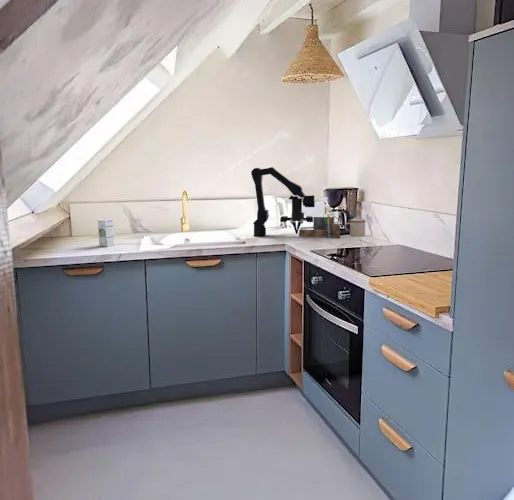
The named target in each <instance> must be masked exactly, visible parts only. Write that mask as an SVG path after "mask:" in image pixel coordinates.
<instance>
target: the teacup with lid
mask: <svg viewBox="0 0 514 500" xmlns="http://www.w3.org/2000/svg"><path fill="white" fill-rule="evenodd" d="M349 221H350V222H346V223H345V224H344V228H345V231H347V232H349V235H350V236H352V237H364V236H366V219H364V218H362V217H360V215H356V216H355V217H353V218H351V219H349ZM347 225H350V226H349V229H348V228H347Z"/></svg>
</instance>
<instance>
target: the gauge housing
mask: <svg viewBox="0 0 514 500" xmlns="http://www.w3.org/2000/svg"><path fill="white" fill-rule="evenodd" d="M327 218H329V225H330V235H331V236H332V239H340V238H341V225H340V223H334V222H335V219H334V218H335V217H334V216H314V217H313V222H312V223H313V227H312V228H313V229H312V230H327V225H328V223H327Z"/></svg>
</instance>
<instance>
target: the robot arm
mask: <svg viewBox="0 0 514 500" xmlns="http://www.w3.org/2000/svg"><path fill="white" fill-rule="evenodd" d="M250 174H251V177H252V181H253V183H254V187H255V194H256V195H255V196H256V203H257V212H256V213H257V214H256V220H255V221H254V222H252V224H253V237H265V236H266V234H267V228H266V224H265V223H266V222H267V221H268V220H269V217H270V215H269V209H266V206H265V197H264V189H263V179H264V176H267V175H271V176H272V177H273V178H274V179H276V180H277V181H279V182H280V183H281V184H282V185H284V186H285V187H286V188H287V189H288V191H289V192H290V193H291V194H292V195H290V196H289V198H288V200H291V217H288V215H282V216H281V217H280V223H286V222H287V221H289V223H290V224H291V225H292V226H293V229H294V231H295V235H296V234H299V230H300V228H301V225H302V224H304V222H307V223H313V222H314V217H313V216H311V215H309V216H308V215H307V216H306V217H305V212H303V209H302V208H303V207H304V208H315V206H316V205H315V204H316V200H315V195H313V194H312V195H306V194H305V193H304V192H303V188H302V186H301V185H299V184H298V183H295V182H293V181H291V180H290V179H289V178H287V177H286V176H285V175H283V174H282V173H281V172H279V171H278V170H277V169H276V168H275V167H273V166H272V167H267V168H260V167H255V168H253V169H252V170H251V171H250ZM296 222H297V223H296Z"/></svg>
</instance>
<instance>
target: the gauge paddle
mask: <svg viewBox="0 0 514 500" xmlns="http://www.w3.org/2000/svg"><path fill="white" fill-rule="evenodd" d="M327 223H328V225H327V237H326V238H330V237H331V234H330V225H329V218H327Z"/></svg>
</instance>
